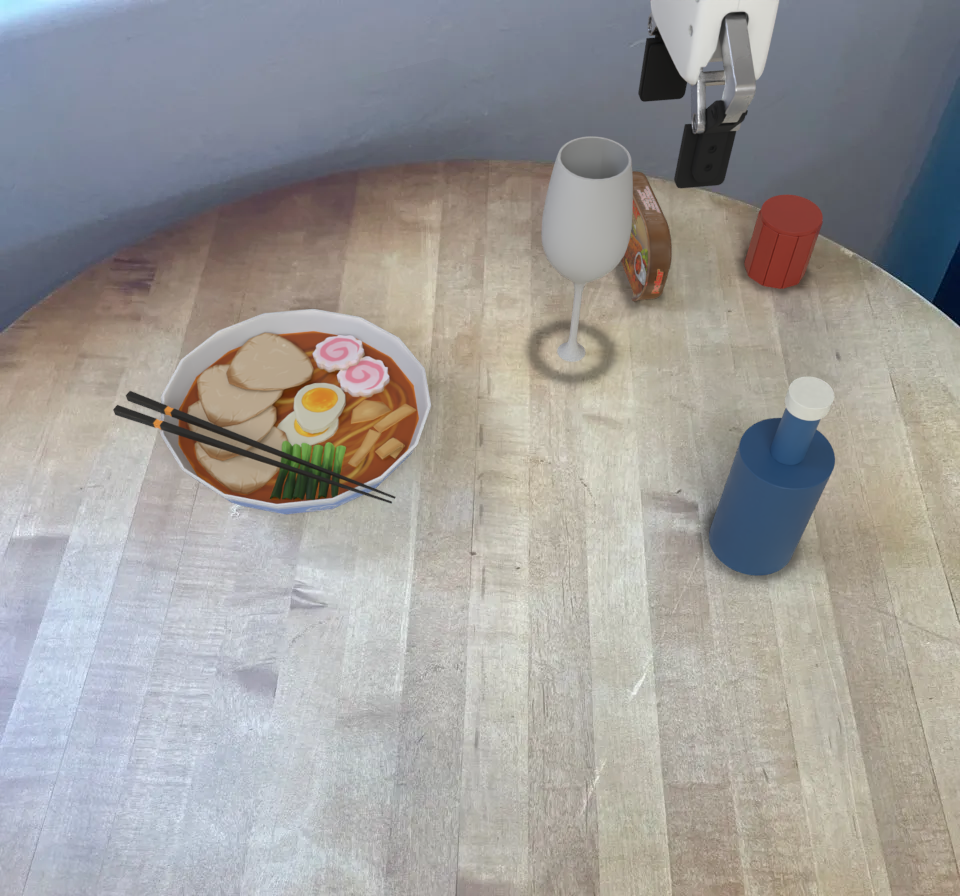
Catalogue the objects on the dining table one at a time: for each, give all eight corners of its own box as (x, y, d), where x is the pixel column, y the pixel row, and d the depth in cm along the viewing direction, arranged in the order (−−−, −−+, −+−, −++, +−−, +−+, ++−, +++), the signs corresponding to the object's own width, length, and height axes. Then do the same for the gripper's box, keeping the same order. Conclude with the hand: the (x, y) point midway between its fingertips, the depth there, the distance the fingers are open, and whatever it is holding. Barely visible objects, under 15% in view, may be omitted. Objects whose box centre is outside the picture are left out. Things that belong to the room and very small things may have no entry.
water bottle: (803, 536, 86) (878, 380, 71) (771, 595, 83) (842, 445, 67) (727, 502, 88) (783, 342, 72) (692, 558, 85) (744, 404, 69)
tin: (598, 225, 108) (608, 153, 101) (626, 223, 108) (638, 150, 101) (634, 319, 100) (648, 248, 93) (664, 316, 100) (680, 244, 93)
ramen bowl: (485, 419, 93) (487, 351, 86) (370, 603, 82) (361, 544, 75) (255, 338, 98) (239, 268, 91) (117, 502, 87) (87, 437, 80)
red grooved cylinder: (810, 269, 105) (832, 206, 98) (787, 303, 102) (808, 241, 95) (757, 249, 106) (775, 186, 100) (733, 282, 103) (751, 219, 97)
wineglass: (521, 375, 96) (535, 175, 78) (544, 324, 100) (562, 122, 82) (597, 394, 95) (628, 196, 77) (617, 342, 98) (652, 141, 80)
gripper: (866, -100, 48) (772, 216, 62) (759, -241, 57) (698, 64, 71) (715, -91, 47) (655, 226, 62) (630, -235, 56) (596, 72, 71)
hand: (678, 139), depth 66 cm, fingers open, 9 cm apart
